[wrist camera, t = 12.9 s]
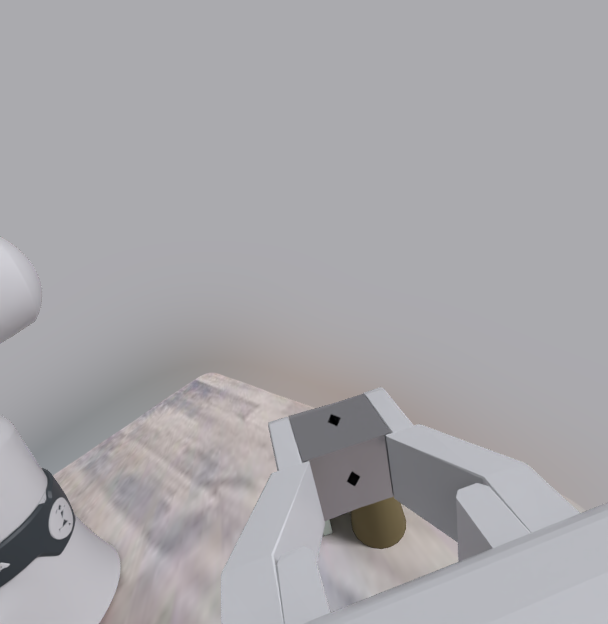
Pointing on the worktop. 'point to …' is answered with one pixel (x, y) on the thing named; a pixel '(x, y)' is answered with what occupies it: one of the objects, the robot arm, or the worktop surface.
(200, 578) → the worktop surface
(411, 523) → the worktop surface
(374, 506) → the cork
